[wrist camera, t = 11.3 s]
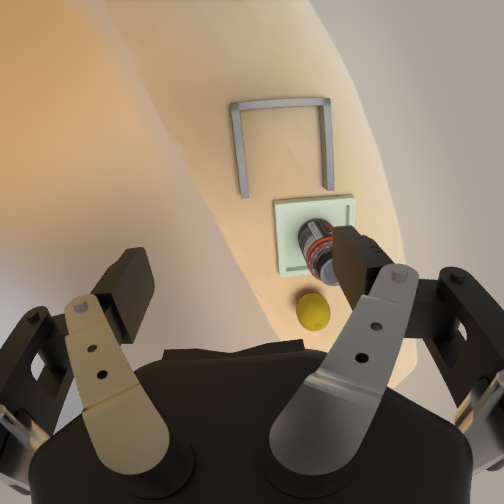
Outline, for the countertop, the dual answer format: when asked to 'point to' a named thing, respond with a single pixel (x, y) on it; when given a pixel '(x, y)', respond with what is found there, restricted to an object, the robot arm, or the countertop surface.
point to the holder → (321, 102)
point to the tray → (296, 215)
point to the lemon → (313, 312)
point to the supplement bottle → (318, 249)
